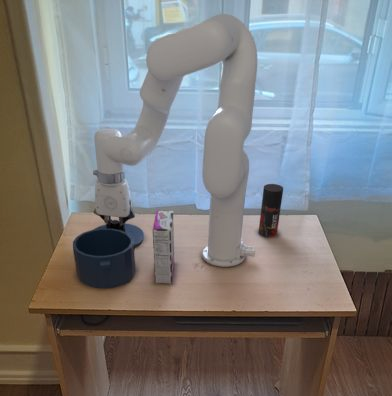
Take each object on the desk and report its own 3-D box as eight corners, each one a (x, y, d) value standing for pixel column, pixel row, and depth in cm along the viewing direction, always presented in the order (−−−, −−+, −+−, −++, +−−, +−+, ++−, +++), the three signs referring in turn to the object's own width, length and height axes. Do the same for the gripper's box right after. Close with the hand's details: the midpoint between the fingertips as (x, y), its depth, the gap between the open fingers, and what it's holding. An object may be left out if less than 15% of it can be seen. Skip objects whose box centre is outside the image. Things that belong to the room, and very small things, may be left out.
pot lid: (141, 224, 162) (140, 208, 159) (146, 250, 150) (145, 233, 146) (88, 227, 160) (86, 211, 156) (89, 253, 147) (87, 236, 144)
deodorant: (266, 227, 163) (272, 182, 153) (280, 233, 160) (287, 188, 150) (254, 232, 160) (259, 187, 150) (269, 239, 157) (275, 193, 147)
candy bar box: (157, 263, 144) (155, 209, 133) (174, 263, 144) (174, 210, 133) (154, 284, 135) (151, 228, 125) (172, 284, 135) (171, 229, 125)
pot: (132, 252, 149) (130, 222, 142) (138, 291, 133) (136, 260, 126) (77, 255, 146) (73, 225, 140) (77, 296, 130) (72, 264, 124)
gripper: (79, 178, 140) (87, 237, 152) (135, 183, 138) (138, 243, 150) (88, 168, 146) (95, 226, 158) (142, 173, 144) (144, 231, 156)
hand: (116, 234), depth 154 cm, fingers closed on pot lid, 2 cm apart
